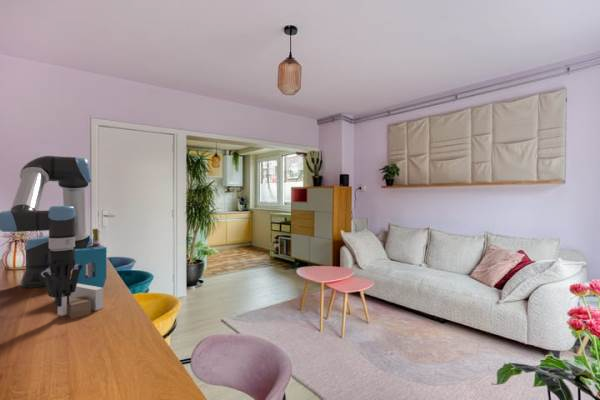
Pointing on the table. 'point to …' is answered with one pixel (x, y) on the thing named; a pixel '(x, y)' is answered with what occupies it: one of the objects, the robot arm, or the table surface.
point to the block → (100, 260)
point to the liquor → (95, 244)
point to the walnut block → (78, 307)
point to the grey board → (89, 295)
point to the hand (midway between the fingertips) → (62, 314)
